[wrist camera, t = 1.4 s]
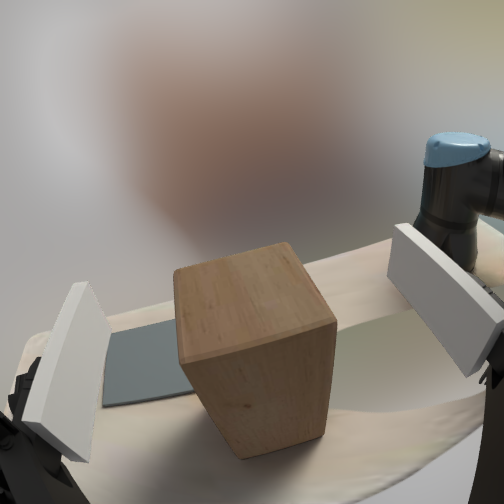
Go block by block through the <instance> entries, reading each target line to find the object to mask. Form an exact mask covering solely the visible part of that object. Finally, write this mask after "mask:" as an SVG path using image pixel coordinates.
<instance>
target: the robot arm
mask: <svg viewBox="0 0 504 504" xmlns="http://www.w3.org/2000/svg"><path fill="white" fill-rule="evenodd" d="M424 165H425V169H424V180H423V189H422V198H421V207H420V212H419V214H418V216H417V218H416V220H415V222H414V224H413V226H411V225H410V224H408V223H403V224H397V225H394V231H393V239H392V246H391V253H390V260H389V266H388V272H387V277H388V278H389V279H390V280H391V282H392V283H393V284H394V285H395V286H396V288H397V289H398V290H399V291H400V292H401V294H402V295H403V296H404V297H405V298H406V300H407V301H408V302H409V303H410V304H411V306H412V307H413V308H414V309H415V311H416V312H417V313H418V314H419V316H420V317H421V318H422V319H423V320H424V322H425V323H426V324H427V326H428V327H429V328H430V330H432V332H433V334H434V335H435V336H436V337H437V339H438V340H439V341H440V343H441V344H442V345H443V347H444V348H445V349H446V351H447V352H448V353H449V355H450V356H451V358H452V359H453V360H454V362H455V363H456V364H457V366H458V367H459V368H460V370H461V371H462V373H463V374H464V376H465V377H466V378H467V377H469V376H470V375H472V374H473V373H475V372H477V371H479V370H480V368H481V367H482V365H483V363H484V362H485V360H487V361H488V362H489V366H488V367H487V369H486V371H485V372H484V374H483V375H482V377H481V378H480V380H479V384H481V383H482V382H483V380H484V379H485V377H487V379H486V382H485V384H484V385H486V400H485V413H484V422H483V431H482V439H481V445H480V451H479V458H478V463H477V468H476V473H475V477H474V482H473V486H472V490H471V494H470V498H469V501H468V504H504V302H503V301H502V300H501V299H500V298H499V297H498V296H497V295H496V294H495V293H493V292H492V290H491V289H490V288H489V287H486V285H485V284H484V283H483V282H482V281H481V280H480V279H479V278H478V277H476V276H474V275H473V274H471V273H469V272H470V271H471V270H472V269H473V267H474V265H475V262H476V259H477V254H478V251H477V229H476V226H477V221H478V217H479V214H481V215H485V216H489V217H493V218H496V219H500V220H503V221H504V152H503V151H499V150H495V149H491V145H490V143H489V141H488V139H486V138H484V137H482V136H478V135H475V134H470V133H461V132H446V133H439V134H436V135H433V136H432V137H430V138H429V140H428V141H427V144H426V153H425V159H424ZM111 331H112V328H111V326H110V324H109V322H108V320H107V318H106V316H105V315H104V313H103V311H102V309H101V307H100V304H99V303H98V300H97V298H96V296H95V294H94V292H93V290H92V288H91V285H90V283H89V281H85V282H79V283H74V284H73V285H72V287H71V289H70V292H69V294H68V296H67V298H66V300H65V302H64V305H63V307H62V309H61V311H60V313H59V316H58V318H57V321H56V323H55V325H54V327H53V330H52V332H51V335H50V337H49V340H48V342H47V345H46V347H45V350H44V352H43V355H42V357H37V358H36V359H35V361H34V362H33V363H32V365H31V366H30V368H29V370H28V373H27V376H26V381H25V382H24V384H23V387H22V388H23V390H21V393H20V396H19V400H18V403H17V406H16V409H15V413H14V416H13V420H12V422H11V421H10V420H9V419H8V418H7V417H6V416H5V415H4V414H3V413H2V412H1V411H0V504H90V503H89V501H88V500H87V498H86V497H85V495H84V494H83V493H82V491H81V490H80V488H79V487H78V485H77V484H76V482H75V480H74V479H73V477H72V476H71V474H70V472H69V471H68V469H67V468H66V466H65V465H64V464H63V463H62V462H61V456H62V455H64V456H65V457H66V458H68V459H69V460H70V461H75V462H86V463H89V460H90V451H91V442H92V434H93V426H94V419H95V412H96V406H97V400H98V394H99V388H100V383H101V378H102V373H103V368H104V363H105V358H106V353H107V349H108V344H109V340H110V336H111Z"/></svg>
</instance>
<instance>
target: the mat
mask: <svg viewBox="0 0 504 504" xmlns="http://www.w3.org/2000/svg"><path fill="white" fill-rule="evenodd" d="M191 392H195V391H194V389H193V387H192V386H191V384H190V382H189V381H188V379H187V377H186V375H185V374H184V372H183V370H182V368H181V367H180V365H179V358H178V346H177V333H176V319H172V320H168V321H164V322H160V323H156V324H151V325H147V326H143V327H138V328H134V329H129V330H125V331H120V332H116V333H111V336H110V340H109V344H108V349H107V358H106V368H105V379H104V392H103V406H105V407H107V406H115V405H123V404H130V403H136V402H143V401H149V400H155V399H160V398H166V397H171V396H176V395H181V394H186V393H191Z"/></svg>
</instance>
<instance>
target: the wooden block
mask: <svg viewBox="0 0 504 504" xmlns="http://www.w3.org/2000/svg"><path fill="white" fill-rule="evenodd" d="M173 281H174V302H175V319H176V333H177V346H178V358H179V365H180V367H181V368H182V370H183V372H184V374H185V375H186V377H187V379H188V381H189V382H190V384H191V386H192V387H193V389H194V391H195V392H196V394H197V396H198V397H199V399H200V401H201V402H202V404H203V406H204V407H205V409H206V410H207V412H208V414H209V415H210V417H211V418H212V420H213V421H214V423H215V425H216V426H217V428H218V429H219V431H220V432H221V434H222V435H223V437H224V438H225V440H226V441H227V443H228V444H229V446H230V447H231V448H232V450H233V451H234V453H235V454H236V456H237V457H238V458H239V459H245V458H250V457H254V456H258V455H262V454H266V453H269V452H273V451H276V450H280V449H283V448H287V447H290V446H293V445H297V444H300V443H303V442H306V441H309V440H312V439H315V438H318V437H320V436H322V435H324V433H325V427H326V420H327V413H328V406H329V399H330V391H331V383H332V375H333V366H334V356H335V346H336V335H337V319H336V317H335V316H334V314H333V312H332V311H331V309H330V308H329V306H328V304H327V303H326V301H325V300H324V298H323V296H322V295H321V293H320V292H319V290H318V289H317V287H316V285H315V284H314V282H313V281H312V279H311V278H310V276H309V274H308V273H307V271H306V270H305V268H304V267H303V265H302V263H301V262H300V260H299V259H298V257H297V256H296V255H295V253H294V251H293V250H292V248H291V247H290V245H289V244H288V243H287V242H282V243H278V244H274V245H270V246H266V247H262V248H258V249H254V250H250V251H246V252H243V253H239V254H235V255H231V256H227V257H223V258H219V259H215V260H211V261H207V262H203V263H200V264H196V265H192V266H188V267H184V268H180V269H177V270H176V271H174V276H173Z"/></svg>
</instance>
